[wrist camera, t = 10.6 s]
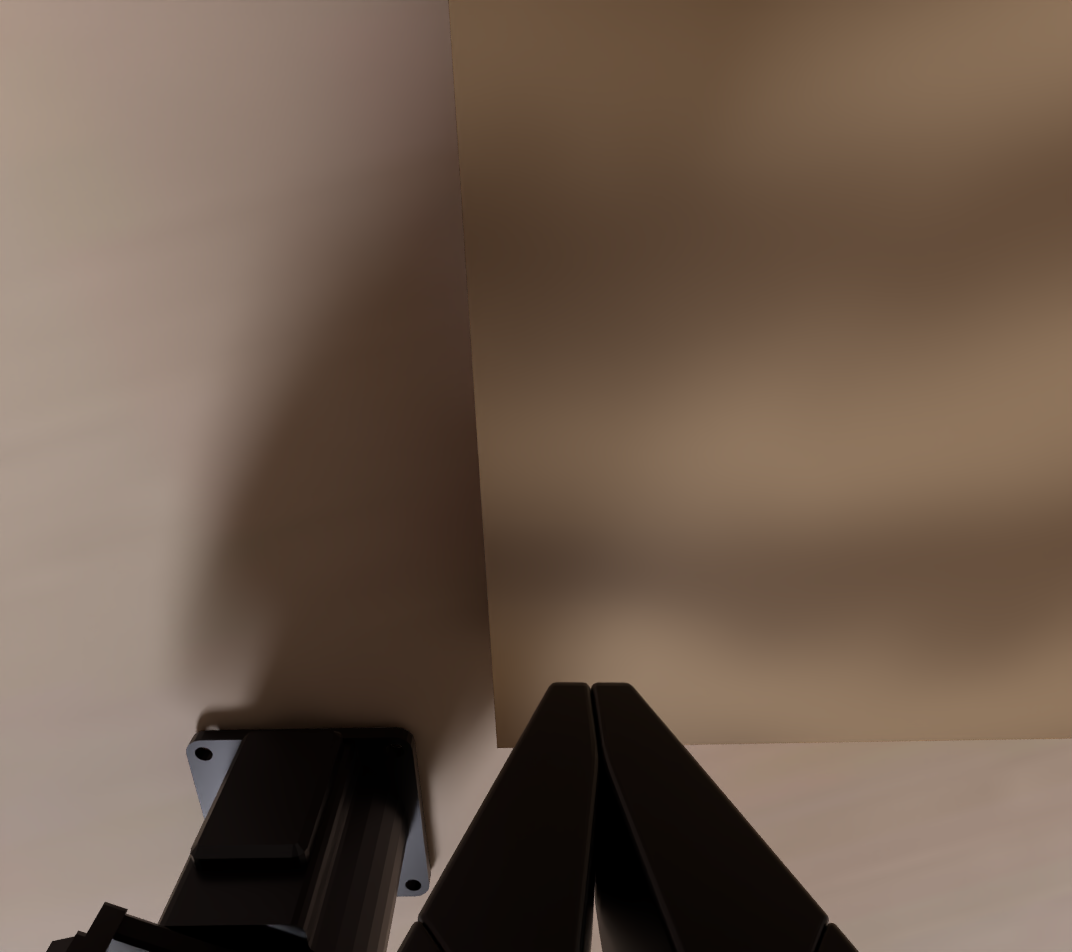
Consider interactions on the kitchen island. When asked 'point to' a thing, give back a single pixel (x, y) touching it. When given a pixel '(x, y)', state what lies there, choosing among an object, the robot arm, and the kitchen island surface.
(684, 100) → the walnut deck
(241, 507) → the kitchen island surface
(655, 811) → the robot arm
